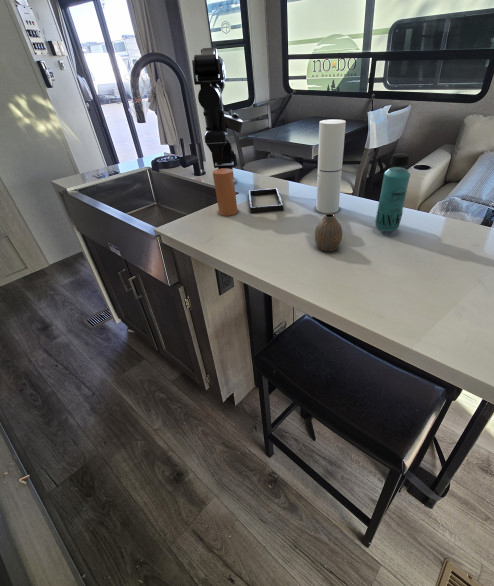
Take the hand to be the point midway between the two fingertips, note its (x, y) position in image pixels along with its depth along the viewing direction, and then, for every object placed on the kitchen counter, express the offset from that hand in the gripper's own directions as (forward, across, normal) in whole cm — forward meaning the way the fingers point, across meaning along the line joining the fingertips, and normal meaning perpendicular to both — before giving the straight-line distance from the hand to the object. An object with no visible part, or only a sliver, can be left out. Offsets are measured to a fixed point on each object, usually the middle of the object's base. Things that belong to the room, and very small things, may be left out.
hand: (220, 161), depth 103 cm
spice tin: (+13, -12, -1) cm, 18 cm away
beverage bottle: (+13, -35, -45) cm, 58 cm away
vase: (+13, -41, -27) cm, 51 cm away
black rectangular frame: (+13, -6, -14) cm, 20 cm away
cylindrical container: (+13, -16, -33) cm, 39 cm away
